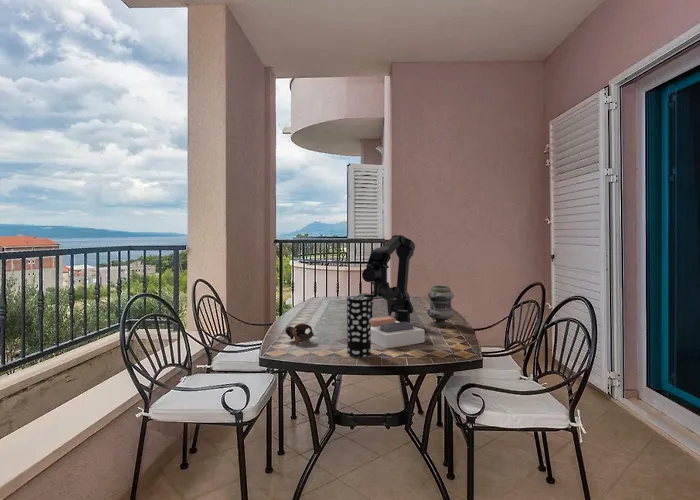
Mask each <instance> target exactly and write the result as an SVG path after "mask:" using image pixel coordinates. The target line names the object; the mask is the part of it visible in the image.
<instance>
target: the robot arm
mask: <svg viewBox="0 0 700 500" xmlns="http://www.w3.org/2000/svg"><path fill="white" fill-rule="evenodd" d="M415 248H416V244H415V242H414V241H413V240H411V239H410V238H407V237H405V236H404V235H402V234H394V235H392V236H391V238H390V239H389V240H388V241H387V242H386V243H384V244H383V245H382V246H380V247H376V248H374V249H373V250H372V251H371V252H370V254H369V256H368V257H369V258H368V260H367V263H366V268H364V269H363V270H362V273H361V277H362V279H363V280H364V282H367V283H371V285H372V286H373V288H372V289H373V291H371V293H367V292H365V293H359V294H358V296H364V297H370V300H371V318H373V305H374V302H373V300H378V299H384V300H386V302H387V304H386V305H387V314H388V316H389V317H392V313H394V317H393V318H396V321H399V322H409V323H411V314H413V312H414V306H413V304H412V302H411V296H410V294H409V292H408V281H409V270H410V259H411V258H412V257H413V256H414V254H415V253H414V252H415ZM394 252H395V254H396V255H397V257H398V266H397V269H398V270H397V278H396V280H397V281H396V286H393V287H390V282H389V281H388V269H389V267H390V266H389V264H388V263H389V261H390V260H391V259H392V256H391V255H392V254H393V253H394Z"/></svg>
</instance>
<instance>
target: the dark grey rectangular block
mask: <svg viewBox="0 0 700 500" xmlns="http://www.w3.org/2000/svg"><path fill="white" fill-rule="evenodd" d="M413 326H414V323H412V322H410V323H409V322H398V323H390V324H382V325H380V330H381V331H384V332H387V333H388V332H395V331H402V330H410V329H413Z"/></svg>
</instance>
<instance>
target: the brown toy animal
mask: <svg viewBox="0 0 700 500" xmlns="http://www.w3.org/2000/svg"><path fill="white" fill-rule="evenodd" d="M306 330H309V332H308V333H306ZM284 331H285V334H286V336H288V337H289V338H290V340H293V339H294V344H295V345H297V346H299V344H300V343H305V342H307V341H309V340H310V339H312V338H313V337H314V336H315V335H314V332H313V329H312V326H311V325H309V324H306V323H298V324H296V325H294V327H293V326H291V325H289V326H286V328H285V330H284Z"/></svg>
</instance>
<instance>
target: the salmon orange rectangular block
mask: <svg viewBox="0 0 700 500" xmlns="http://www.w3.org/2000/svg"><path fill="white" fill-rule="evenodd" d="M390 323H396V318H394V317H392V316H389V315H388V316H382V317H381V316H379V317H372V318H371V326H379V325H382V324H390Z"/></svg>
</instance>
